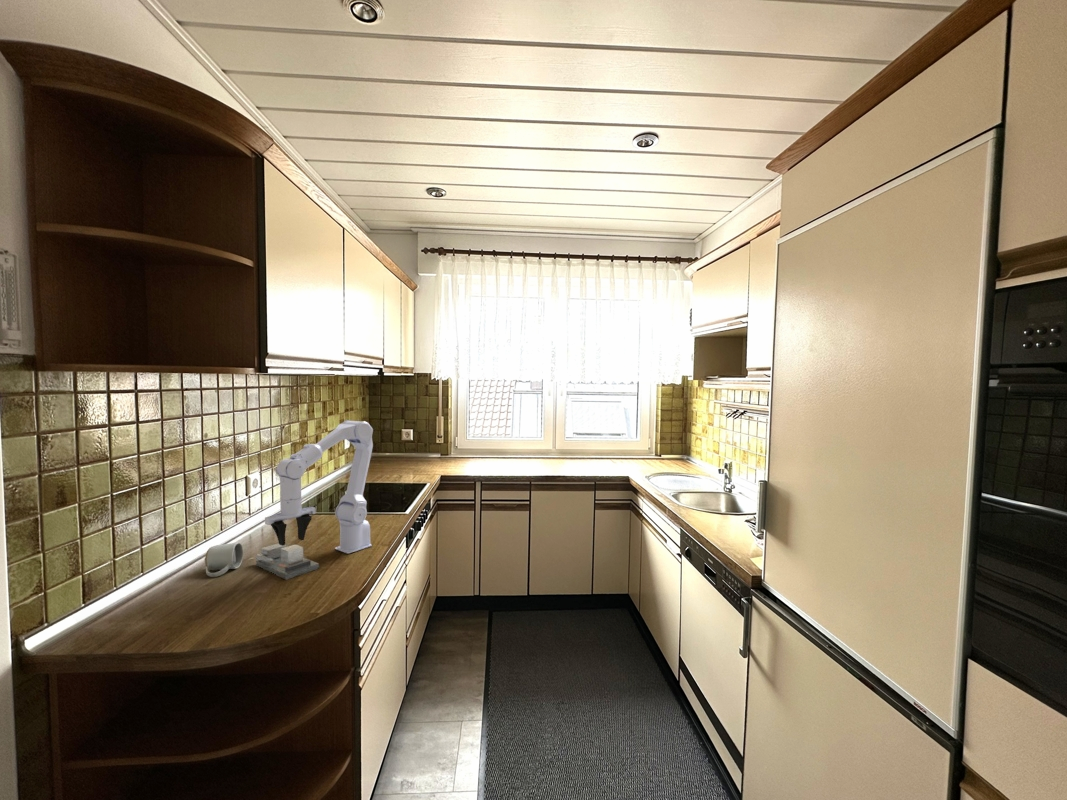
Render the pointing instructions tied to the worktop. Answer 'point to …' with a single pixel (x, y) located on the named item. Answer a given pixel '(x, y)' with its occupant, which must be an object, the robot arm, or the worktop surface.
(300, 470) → the robot arm
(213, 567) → the ceramic mug
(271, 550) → the block
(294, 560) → the white rectangular block
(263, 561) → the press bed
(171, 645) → the worktop surface
